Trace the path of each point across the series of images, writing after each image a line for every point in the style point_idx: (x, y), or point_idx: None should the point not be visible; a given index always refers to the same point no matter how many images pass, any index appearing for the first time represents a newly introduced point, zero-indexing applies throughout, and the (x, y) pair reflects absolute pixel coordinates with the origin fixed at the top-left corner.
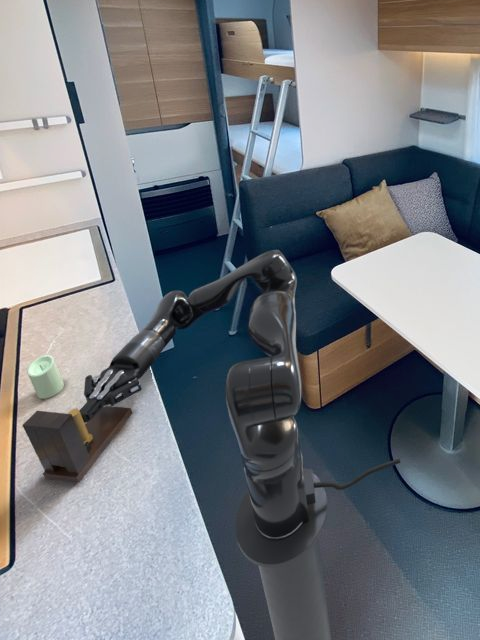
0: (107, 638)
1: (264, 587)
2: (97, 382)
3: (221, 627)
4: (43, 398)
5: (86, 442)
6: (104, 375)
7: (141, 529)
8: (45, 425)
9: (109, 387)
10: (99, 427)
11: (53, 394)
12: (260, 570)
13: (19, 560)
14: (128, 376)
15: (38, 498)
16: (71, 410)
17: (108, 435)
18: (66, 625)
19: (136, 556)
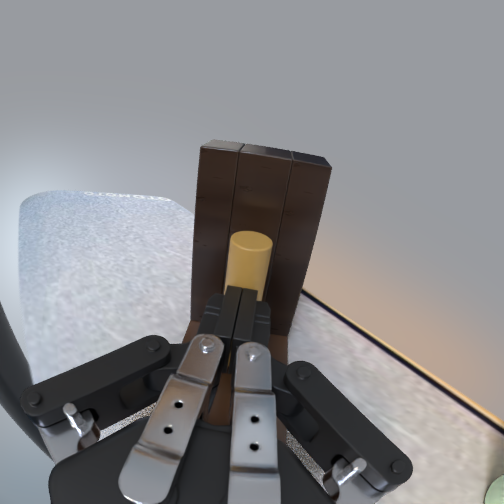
0: (101, 202)
1: (11, 329)
2: (328, 484)
3: (25, 200)
4: (497, 478)
5: None
6: (278, 472)
7: (74, 244)
8: (255, 145)
9: (173, 375)
10: (222, 403)
11: (488, 495)
12: (1, 306)
13: None
14: (90, 465)
15: None
16: (265, 247)
17: None
18: (137, 208)
19: (80, 229)
